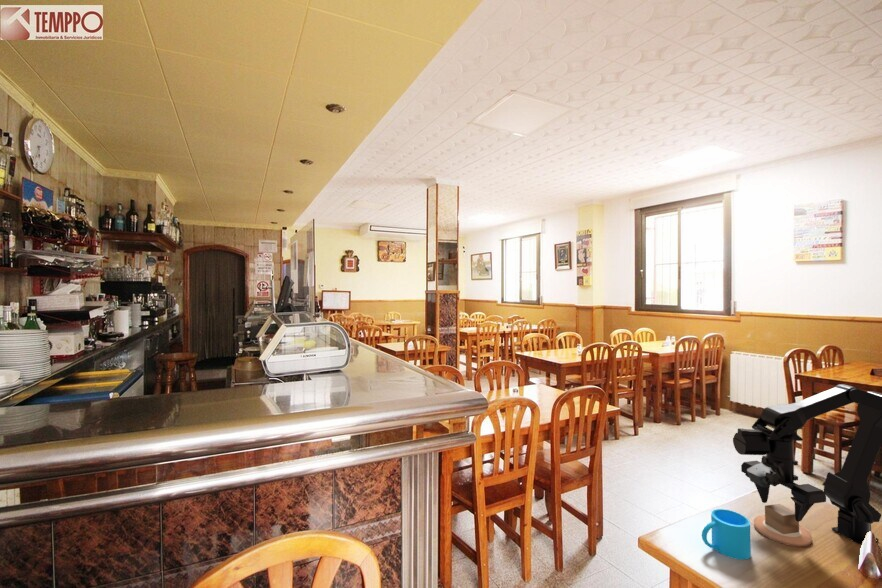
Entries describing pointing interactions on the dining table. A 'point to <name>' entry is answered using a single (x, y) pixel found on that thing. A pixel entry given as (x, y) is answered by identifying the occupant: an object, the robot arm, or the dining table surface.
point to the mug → (729, 534)
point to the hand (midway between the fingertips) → (780, 511)
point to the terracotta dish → (791, 539)
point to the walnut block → (781, 518)
